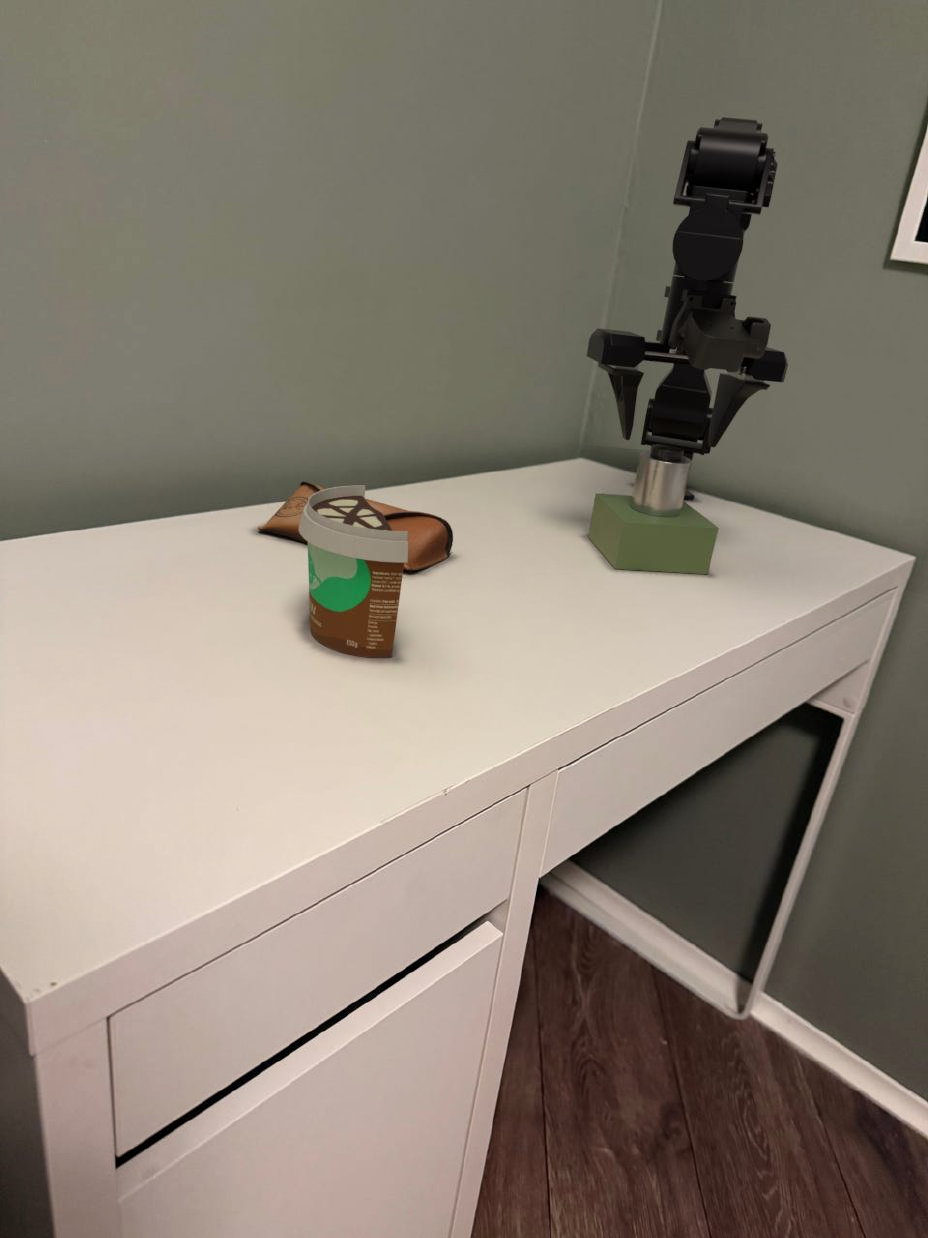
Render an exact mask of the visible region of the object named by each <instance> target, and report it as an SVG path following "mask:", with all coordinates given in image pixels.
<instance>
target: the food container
mask: <svg viewBox="0 0 928 1238" xmlns="http://www.w3.org/2000/svg"><path fill="white" fill-rule="evenodd" d="M365 499H366V485H364V484H363V485H361V484H358V485H355V484H354V485H341V486H334V487H330V488H329V487H328V488H325V490H321V491H319V492H316V493H314V494H313V495H311V496H310V498H309V499H308V503H307V504H306V505H305V507H304V509H303V513H302V516H301V520H300V524H299V529H298V530H299V532H300V534H301V536H302V537H303V538H304V539H305V540H307V541H308V543H307V565H308V567H307V569H308V601H309V603H308V604H309V630H310V634H311V636H312V637H313V638H314V639H315V640H316V641H317V643H319V644H321V645H323V646H325V647H326V648H328V649H331V650H334V651H336V652H339V653H342V654H347V655H351V656H356V657H364V658H373V659H374V658H375V659H376V658H378V659H379V658H380V659H385V658H386V659H387V658H390V659H391V658H393V653H394V644H395V636H396V629H397V621H398V613H399V606H400V599H401V598H400V597H401V590H402V584H403V583H402V582H403V575H404V569H403V568H404V563H408V541H407V536H408V531H393V530H392V529H391V527H390V526H389V524H388V522H387V520H386V518H385V517H384V515H383V514H382V513H381V512H380V511H378V510H376V509H374V508H373V507H371V505H370V504H369V503H368V502H367V501H366V500H365Z"/></svg>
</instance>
